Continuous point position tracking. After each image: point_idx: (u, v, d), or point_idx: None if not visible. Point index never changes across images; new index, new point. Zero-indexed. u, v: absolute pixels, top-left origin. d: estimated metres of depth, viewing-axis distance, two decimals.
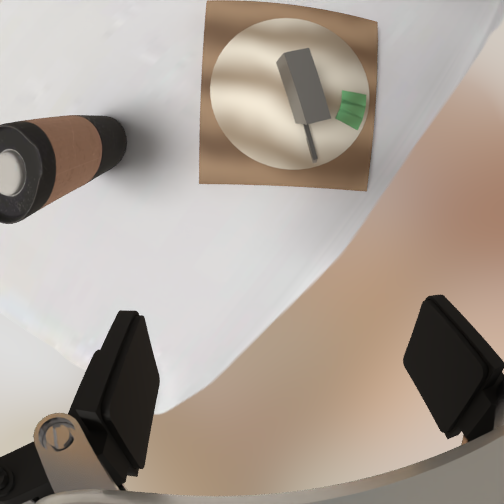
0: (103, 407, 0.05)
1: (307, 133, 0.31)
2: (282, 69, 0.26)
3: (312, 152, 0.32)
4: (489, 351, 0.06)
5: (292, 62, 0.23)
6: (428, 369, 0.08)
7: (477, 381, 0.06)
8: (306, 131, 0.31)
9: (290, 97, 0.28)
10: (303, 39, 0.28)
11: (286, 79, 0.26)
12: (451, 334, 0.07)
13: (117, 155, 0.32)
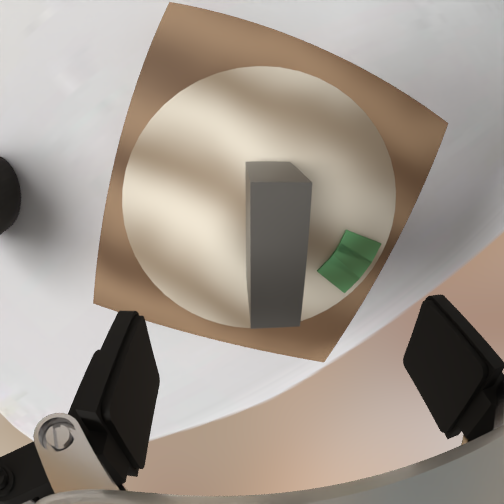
0: (103, 407, 0.05)
1: None
2: (247, 192, 0.15)
3: None
4: (489, 351, 0.06)
5: (262, 209, 0.12)
6: (429, 369, 0.08)
7: (477, 381, 0.06)
8: None
9: None
10: (315, 122, 0.17)
11: (247, 216, 0.15)
12: (451, 334, 0.07)
13: None
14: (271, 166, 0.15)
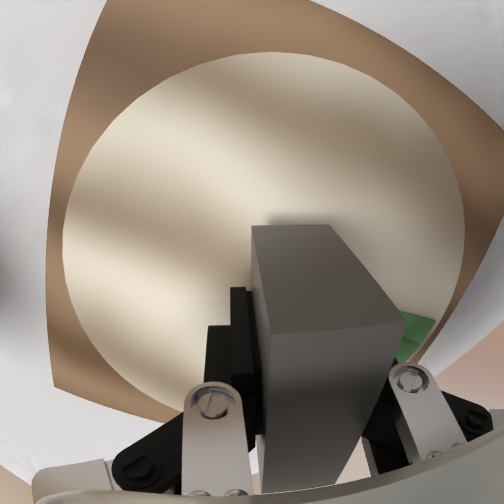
0: (256, 368, 0.07)
1: None
2: (256, 297, 0.08)
3: None
4: None
5: (295, 379, 0.05)
6: None
7: None
8: None
9: None
10: (366, 150, 0.10)
11: None
12: None
13: None
14: (302, 245, 0.08)
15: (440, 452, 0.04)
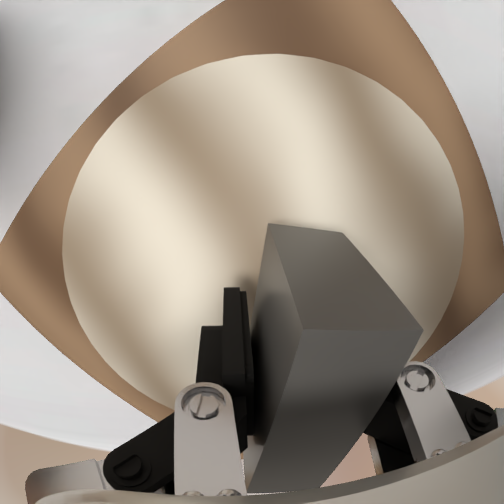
0: (247, 369, 0.07)
1: None
2: (269, 294, 0.08)
3: None
4: None
5: (314, 376, 0.05)
6: None
7: None
8: None
9: None
10: (415, 216, 0.11)
11: (263, 336, 0.08)
12: None
13: None
14: (320, 248, 0.08)
15: (445, 450, 0.04)
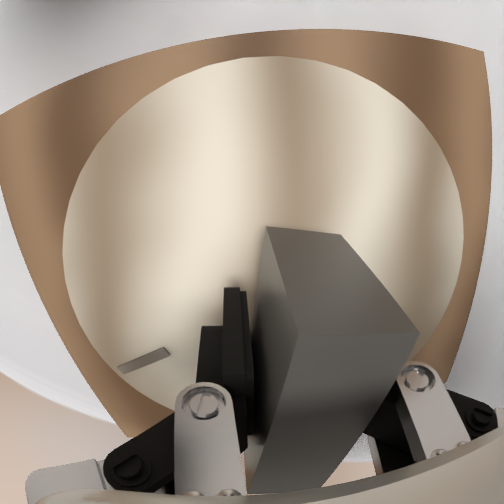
0: (247, 369, 0.07)
1: None
2: (267, 297, 0.08)
3: None
4: None
5: (310, 380, 0.05)
6: None
7: None
8: None
9: None
10: (417, 287, 0.13)
11: (261, 339, 0.08)
12: None
13: None
14: (317, 251, 0.08)
15: (445, 450, 0.04)
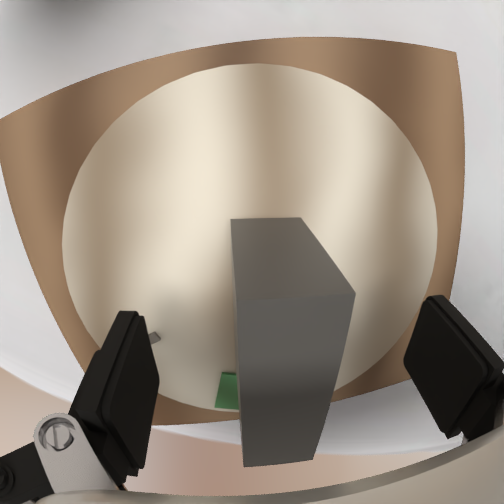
0: (103, 407, 0.05)
1: None
2: None
3: None
4: (489, 351, 0.06)
5: (260, 343, 0.06)
6: (429, 369, 0.08)
7: (477, 381, 0.06)
8: None
9: (235, 344, 0.11)
10: (393, 275, 0.14)
11: None
12: (451, 334, 0.07)
13: None
14: (273, 234, 0.09)
15: None
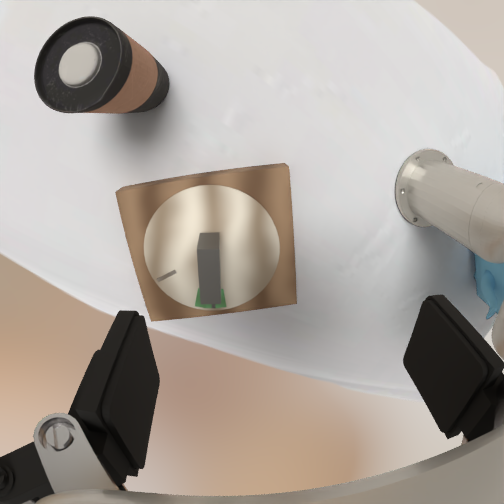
0: (103, 407, 0.05)
1: None
2: None
3: None
4: (489, 351, 0.06)
5: (201, 258, 0.33)
6: (428, 369, 0.08)
7: (477, 381, 0.06)
8: None
9: None
10: (260, 252, 0.41)
11: None
12: (451, 334, 0.07)
13: None
14: (209, 237, 0.36)
15: None
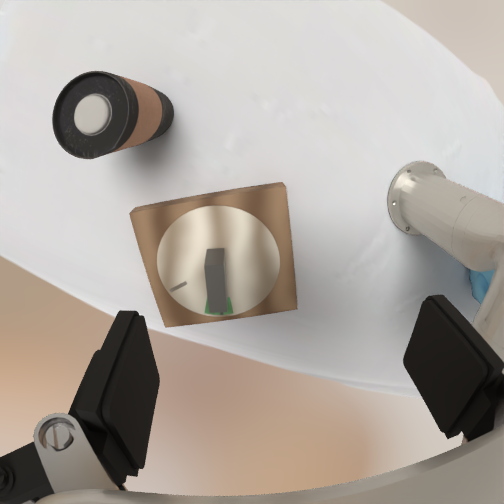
0: (103, 407, 0.05)
1: None
2: None
3: None
4: (489, 351, 0.06)
5: (208, 273, 0.38)
6: (428, 369, 0.08)
7: (477, 381, 0.06)
8: None
9: None
10: (262, 264, 0.45)
11: None
12: (451, 334, 0.07)
13: None
14: (215, 253, 0.41)
15: None
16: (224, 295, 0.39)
